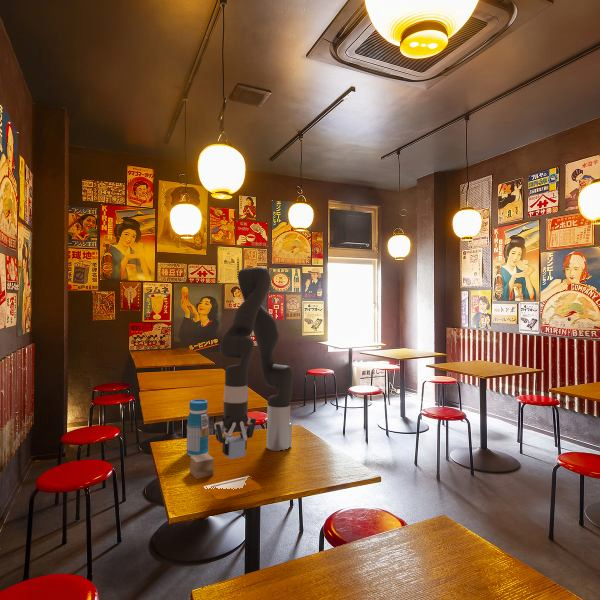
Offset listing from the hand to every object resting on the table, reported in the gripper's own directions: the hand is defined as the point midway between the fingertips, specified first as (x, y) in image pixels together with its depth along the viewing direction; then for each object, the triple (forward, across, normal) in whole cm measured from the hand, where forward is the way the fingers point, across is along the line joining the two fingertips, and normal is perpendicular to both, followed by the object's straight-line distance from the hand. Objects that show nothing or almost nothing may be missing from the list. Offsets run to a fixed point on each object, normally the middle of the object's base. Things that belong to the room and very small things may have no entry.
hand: (234, 453), depth 134 cm
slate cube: (+1, 0, 0) cm, 1 cm away
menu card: (+11, 0, 0) cm, 11 cm away
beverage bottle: (+11, -1, -35) cm, 37 cm away
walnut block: (+11, +5, -15) cm, 19 cm away
